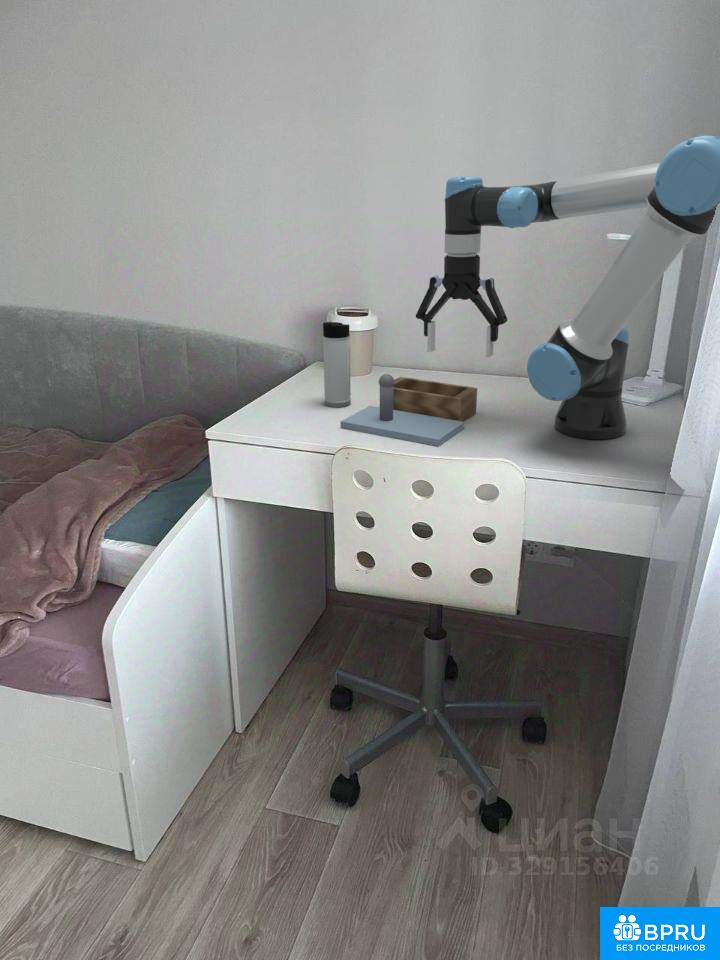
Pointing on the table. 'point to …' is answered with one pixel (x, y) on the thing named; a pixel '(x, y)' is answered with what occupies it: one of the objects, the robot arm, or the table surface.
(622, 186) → the robot arm
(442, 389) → the wooden storage tray
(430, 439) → the plate
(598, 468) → the table surface
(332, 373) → the travel mug
